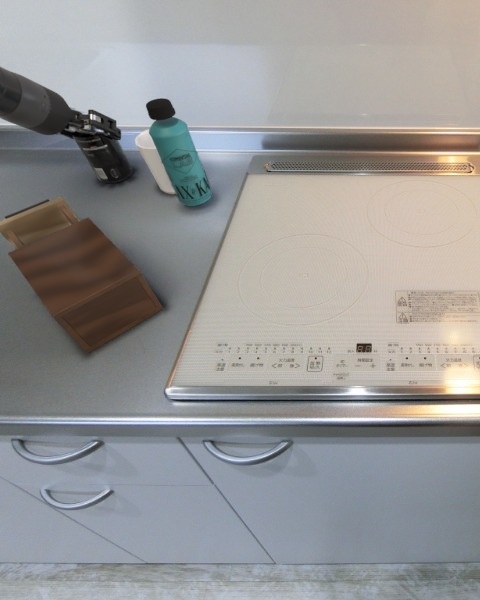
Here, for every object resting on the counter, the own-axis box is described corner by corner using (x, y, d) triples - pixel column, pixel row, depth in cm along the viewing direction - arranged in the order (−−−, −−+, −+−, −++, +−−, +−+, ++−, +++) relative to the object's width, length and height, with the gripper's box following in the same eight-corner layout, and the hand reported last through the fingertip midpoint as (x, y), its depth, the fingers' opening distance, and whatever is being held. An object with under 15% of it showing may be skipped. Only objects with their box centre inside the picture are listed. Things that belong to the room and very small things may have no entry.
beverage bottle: (175, 203, 86) (127, 102, 71) (205, 189, 89) (166, 89, 74) (192, 217, 83) (146, 115, 68) (222, 202, 86) (185, 101, 71)
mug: (210, 184, 91) (192, 137, 83) (167, 201, 87) (145, 154, 79) (187, 162, 96) (169, 117, 88) (147, 178, 92) (123, 131, 84)
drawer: (11, 242, 77) (-16, 211, 72) (72, 215, 82) (51, 184, 77) (57, 304, 68) (29, 273, 62) (123, 270, 73) (102, 239, 68)
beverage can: (114, 165, 95) (85, 111, 86) (141, 170, 94) (114, 116, 85) (92, 183, 91) (58, 128, 82) (120, 188, 90) (88, 133, 81)
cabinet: (43, 292, 71) (7, 253, 64) (114, 256, 76) (88, 217, 70) (87, 353, 63) (51, 316, 56) (163, 308, 68) (139, 269, 62)
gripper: (68, 80, 70) (132, 116, 86) (-19, 78, 70) (62, 114, 86) (69, 127, 70) (133, 154, 86) (-17, 126, 71) (63, 153, 87)
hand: (97, 134), depth 86 cm, fingers open, 8 cm apart
